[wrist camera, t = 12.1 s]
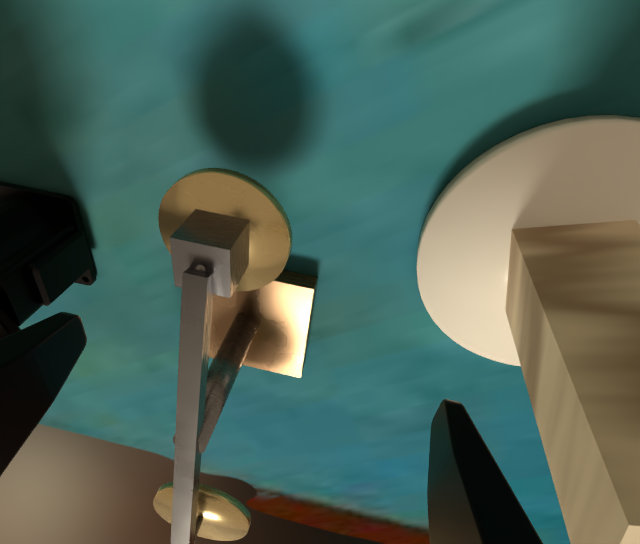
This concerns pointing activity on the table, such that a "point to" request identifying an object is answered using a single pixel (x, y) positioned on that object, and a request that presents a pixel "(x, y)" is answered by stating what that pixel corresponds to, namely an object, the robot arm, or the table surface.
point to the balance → (225, 326)
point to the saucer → (520, 217)
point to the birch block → (583, 367)
